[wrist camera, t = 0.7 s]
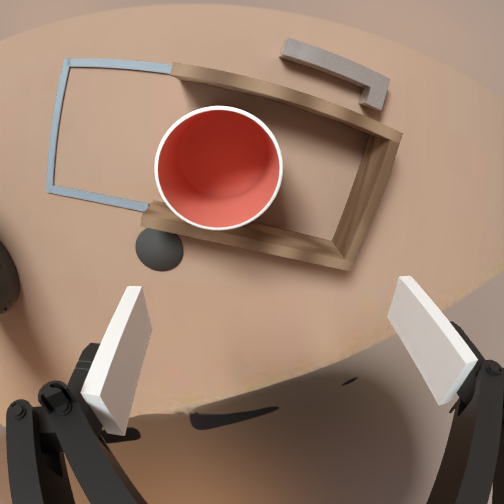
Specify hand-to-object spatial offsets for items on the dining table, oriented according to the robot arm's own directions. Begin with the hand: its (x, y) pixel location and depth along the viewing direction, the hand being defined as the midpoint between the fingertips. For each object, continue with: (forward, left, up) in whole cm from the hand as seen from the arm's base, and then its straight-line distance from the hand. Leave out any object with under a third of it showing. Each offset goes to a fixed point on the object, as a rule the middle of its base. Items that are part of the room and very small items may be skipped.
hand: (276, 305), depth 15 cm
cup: (-4, +4, -21) cm, 22 cm away
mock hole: (-9, -9, -21) cm, 25 cm away
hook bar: (+5, +17, -21) cm, 27 cm away
